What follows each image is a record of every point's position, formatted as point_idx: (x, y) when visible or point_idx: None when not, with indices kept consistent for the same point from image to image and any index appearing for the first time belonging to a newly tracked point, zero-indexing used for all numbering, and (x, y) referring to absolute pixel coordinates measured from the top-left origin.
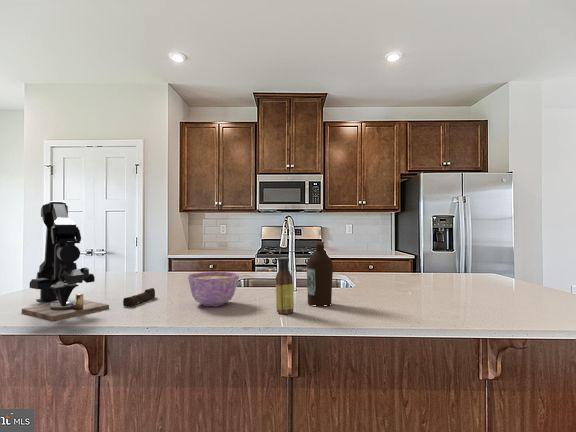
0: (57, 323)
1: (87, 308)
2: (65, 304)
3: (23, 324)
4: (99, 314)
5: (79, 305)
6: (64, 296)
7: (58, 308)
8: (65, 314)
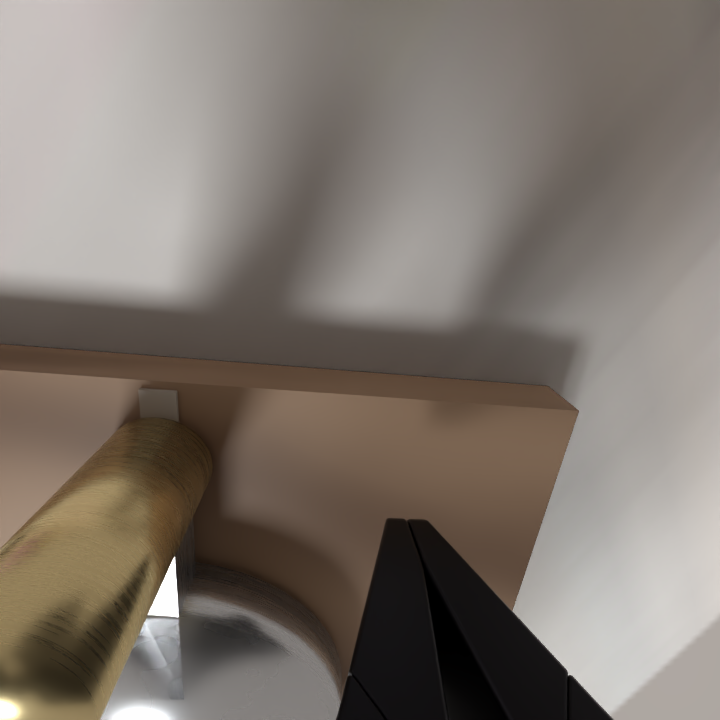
0: (625, 221)
1: (58, 404)
2: (395, 529)
3: (716, 491)
4: (22, 120)
5: (160, 459)
6: (501, 687)
7: (323, 633)
8: (411, 394)
